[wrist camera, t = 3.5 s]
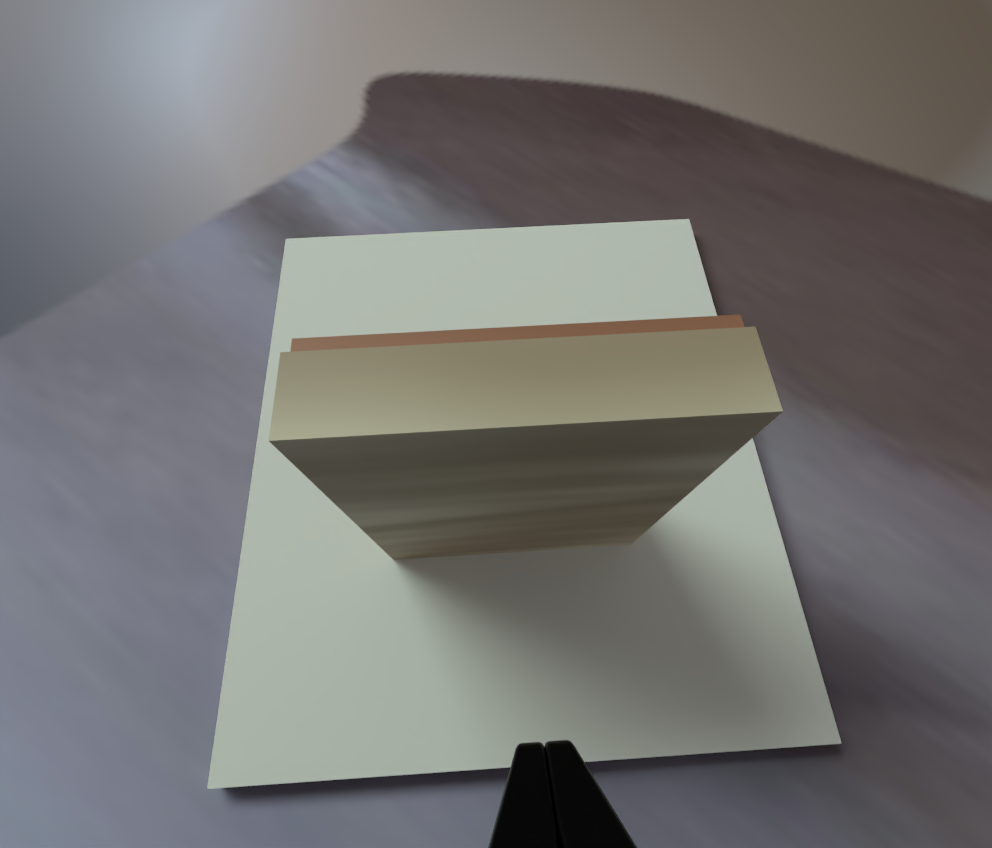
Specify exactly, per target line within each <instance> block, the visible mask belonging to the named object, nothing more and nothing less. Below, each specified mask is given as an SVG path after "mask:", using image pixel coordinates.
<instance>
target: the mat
mask: <svg viewBox="0 0 992 848" xmlns="http://www.w3.org/2000/svg"><path fill="white" fill-rule="evenodd" d="M704 316H717V314H716V310H715V307H714V303H713V300H712V297H711V293H710V290H709V286H708V283H707V279H706V276H705V273H704V269H703V266H702V262H701V259H700V255H699V252H698V248H697V245H696V242H695V238H694V235H693V231H692V228H691V224H690V221H689V219H679V220H659V221H639V222H619V223H598V224H578V225H558V226H538V227H517V228H497V229H477V230H457V231H436V232H416V233H396V234H376V235H356V236H335V237H315V238H295V239H286V242H285V249H284V256H283V263H282V270H281V277H280V284H279V291H278V298H277V305H276V312H275V319H274V326H273V333H272V340H271V347H270V354H269V361H268V368H267V375H266V382H265V389H264V396H263V403H262V410H261V417H260V424H259V431H258V438H257V445H256V452H255V459H254V466H253V473H252V480H251V487H250V494H249V501H248V508H247V515H246V522H245V529H244V536H243V543H242V550H241V557H240V564H239V571H238V578H237V585H236V591H235V598H234V605H233V612H232V619H231V626H230V633H229V640H228V647H227V654H226V661H225V668H224V675H223V682H222V689H221V696H220V703H219V710H218V717H217V724H216V731H215V738H214V745H213V752H212V759H211V766H210V773H209V780H208V787H207V789H214V788H228V787H242V786H256V785H270V784H284V783H298V782H312V781H326V780H340V779H354V778H368V777H382V776H396V775H410V774H424V773H438V772H452V771H466V770H480V769H494V768H508V767H511V763H512V760H513V756H514V752H515V749H516V747H517V745H518V744H520V743H529V742H541V743H542V744H543V745H545V743H546V742H548V741H558V740H569V741H571V742H572V743H573V744H574V746H575V747H576V749H577V751H578V752H579V754H580V755H581V757H582V759H583V760H584V762H592V761H606V760H620V759H634V758H648V757H662V756H676V755H690V754H704V753H718V752H732V751H746V750H760V749H774V748H788V747H802V746H816V745H830V744H842V743H841V739H840V736H839V733H838V729H837V726H836V722H835V719H834V715H833V712H832V708H831V705H830V702H829V698H828V695H827V691H826V688H825V684H824V681H823V678H822V674H821V671H820V667H819V664H818V660H817V657H816V654H815V650H814V647H813V643H812V640H811V636H810V633H809V630H808V626H807V623H806V619H805V616H804V612H803V609H802V606H801V602H800V599H799V595H798V592H797V588H796V585H795V581H794V578H793V575H792V571H791V568H790V564H789V561H788V557H787V554H786V551H785V547H784V544H783V540H782V537H781V533H780V530H779V527H778V523H777V520H776V516H775V513H774V509H773V506H772V503H771V499H770V496H769V492H768V489H767V485H766V482H765V478H764V475H763V472H762V468H761V465H760V461H759V458H758V454H757V451H756V448H755V444H754V441H753V438H752V439H751V440H750V441H748V442H747V443H746V444H745V445H744V446H743V447H742V448H740V449H739V450H738V451H737V452H736V453H735V454H734V455H732V456H731V457H730V458H729V459H728V460H727V461H726V462H724V463H723V464H722V465H721V466H720V467H719V468H718V469H716V470H715V471H714V472H713V473H712V474H711V475H710V476H709V477H707V478H706V479H705V480H704V481H703V482H702V483H701V484H699V485H698V486H697V487H696V488H695V489H694V490H693V491H691V492H690V493H689V494H688V495H687V496H686V497H685V498H683V499H682V500H681V501H680V502H679V503H678V504H677V505H675V506H674V507H673V508H672V509H671V510H670V511H669V512H667V513H666V514H665V515H664V516H663V517H662V518H661V519H659V520H658V521H657V522H656V523H655V524H654V525H653V526H651V527H650V528H649V529H648V530H647V531H646V532H645V533H643V534H642V535H641V536H640V537H639V538H638V539H637V540H635V541H634V542H633V543H632V544H631V545H620V546H604V547H588V548H572V549H556V550H540V551H524V552H508V553H492V554H476V555H461V556H445V557H429V558H413V559H397V560H393V559H392V558H391V557H390V556H389V555H388V554H387V553H386V552H385V551H384V550H383V549H381V548H380V547H379V546H378V545H377V544H376V543H375V542H374V541H373V540H372V539H371V538H370V537H369V536H368V535H367V534H366V533H365V532H364V531H363V530H362V529H360V528H359V527H358V526H357V525H356V524H355V523H354V522H353V521H352V520H351V519H350V518H349V517H348V516H347V515H346V514H345V513H344V512H343V511H342V510H341V509H340V508H338V507H337V506H336V505H335V504H334V503H333V502H332V501H331V500H330V499H329V498H328V497H327V496H326V495H325V494H324V493H323V492H322V491H321V490H320V489H319V488H317V487H316V486H315V485H314V484H313V483H312V482H311V481H310V480H309V479H308V478H307V477H306V476H305V475H304V474H303V473H302V472H301V471H300V470H299V469H298V468H297V467H295V466H294V465H293V464H292V463H291V462H290V461H289V460H288V459H287V458H286V457H285V456H284V455H283V454H282V453H281V452H280V451H279V450H278V449H277V448H276V447H275V446H273V445H272V444H271V443H270V442H269V434H270V427H271V419H272V412H273V404H274V397H275V389H276V382H277V374H278V367H279V359H280V352H290V350H291V342H292V339H293V338H311V337H330V336H349V335H368V334H386V333H405V332H424V331H442V330H461V329H480V328H499V327H517V326H536V325H555V324H573V323H592V322H611V321H630V320H648V319H667V318H686V317H704Z"/></svg>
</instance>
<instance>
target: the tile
mask: <svg viewBox="0 0 992 848" xmlns="http://www.w3.org/2000/svg"><path fill="white" fill-rule="evenodd" d="M782 412H783V410H782V407H781V404H780V401H779V398H778V395H777V392H776V389H775V386H774V382H773V379H772V376H771V373H770V370H769V367H768V364H767V361H766V358H765V355H764V352H763V349H762V346H761V342H760V339H759V336H758V333H757V330H756V327H744V324H743V321H742V317H741V315H723V316H704V317H686V318H667V319H648V320H630V321H611V322H592V323H573V324H555V325H536V326H517V327H499V328H480V329H461V330H442V331H424V332H405V333H386V334H368V335H349V336H330V337H311V338H293V339H292V342H291V350H290V352H280V359H279V367H278V374H277V382H276V389H275V397H274V404H273V412H272V419H271V427H270V434H269V442H270V443H271V444H272V445H273V446H275V447H276V448H277V449H278V450H279V451H280V452H281V453H282V454H283V455H284V456H285V457H286V458H287V459H288V460H289V461H290V462H291V463H292V464H293V465H294V466H295V467H297V468H298V469H299V470H300V471H301V472H302V473H303V474H304V475H305V476H306V477H307V478H308V479H309V480H310V481H311V482H312V483H313V484H314V485H315V486H316V487H317V488H319V489H320V490H321V491H322V492H323V493H324V494H325V495H326V496H327V497H328V498H329V499H330V500H331V501H332V502H333V503H334V504H335V505H336V506H337V507H338V508H340V509H341V510H342V511H343V512H344V513H345V514H346V515H347V516H348V517H349V518H350V519H351V520H352V521H353V522H354V523H355V524H356V525H357V526H358V527H359V528H360V529H362V530H363V531H364V532H365V533H366V534H367V535H368V536H369V537H370V538H371V539H372V540H373V541H374V542H375V543H376V544H377V545H378V546H379V547H380V548H381V549H383V550H384V551H385V552H386V553H387V554H388V555H389V556H390V557H391V558H392V559H393V560H397V559H413V558H429V557H445V556H461V555H476V554H492V553H508V552H524V551H540V550H556V549H572V548H588V547H604V546H620V545H631V544H632V543H633V542H634V541H635V540H637V539H638V538H639V537H640V536H641V535H642V534H643V533H645V532H646V531H647V530H648V529H649V528H650V527H651V526H653V525H654V524H655V523H656V522H657V521H658V520H659V519H661V518H662V517H663V516H664V515H665V514H666V513H667V512H669V511H670V510H671V509H672V508H673V507H674V506H675V505H677V504H678V503H679V502H680V501H681V500H682V499H683V498H685V497H686V496H687V495H688V494H689V493H690V492H691V491H693V490H694V489H695V488H696V487H697V486H698V485H699V484H701V483H702V482H703V481H704V480H705V479H706V478H707V477H709V476H710V475H711V474H712V473H713V472H714V471H715V470H716V469H718V468H719V467H720V466H721V465H722V464H723V463H724V462H726V461H727V460H728V459H729V458H730V457H731V456H732V455H734V454H735V453H736V452H737V451H738V450H739V449H740V448H742V447H743V446H744V445H745V444H746V443H747V442H748V441H750V440H751V439H752V438H753V437H754V436H755V435H756V434H758V433H759V432H760V431H761V430H762V429H763V428H764V427H766V426H767V425H768V424H769V423H770V422H771V421H772V420H774V419H775V418H776V417H777V416H778V415H779V414H780V413H782Z"/></svg>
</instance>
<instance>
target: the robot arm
mask: <svg viewBox="0 0 992 848" xmlns="http://www.w3.org/2000/svg"><path fill="white" fill-rule="evenodd" d="M488 848H637V847H636V845H635V844H634V842H633V840H632V839H631V837H630V835H629V834H628V832H627V830H626V829H625V827H624V826H623V824H622V822H621V821H620V819H619V817H618V816H617V814H616V813H615V811H614V809H613V808H612V806H611V804H610V803H609V801H608V799H607V798H606V796H605V795H604V793H603V791H602V790H601V788H600V786H599V785H598V783H597V782H596V780H595V778H594V777H593V775H592V773H591V772H590V770H589V768H588V767H587V765H586V764H585V762H584V760H583V759H582V757H581V755H580V754H579V752H578V751H577V749H576V747H575V746H574V744H573V743H572V742H571V741H569V740H558V741H548V742H546V743H545V745H543V744H542V743H541V742H529V743H520V744H518V745H517V747H516V749H515V752H514V756H513V760H512V763H511V767H510V771H509V774H508V778H507V782H506V785H505V789H504V793H503V796H502V800H501V804H500V807H499V811H498V814H497V818H496V822H495V825H494V829H493V833H492V836H491V840H490V844H489V847H488Z"/></svg>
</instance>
